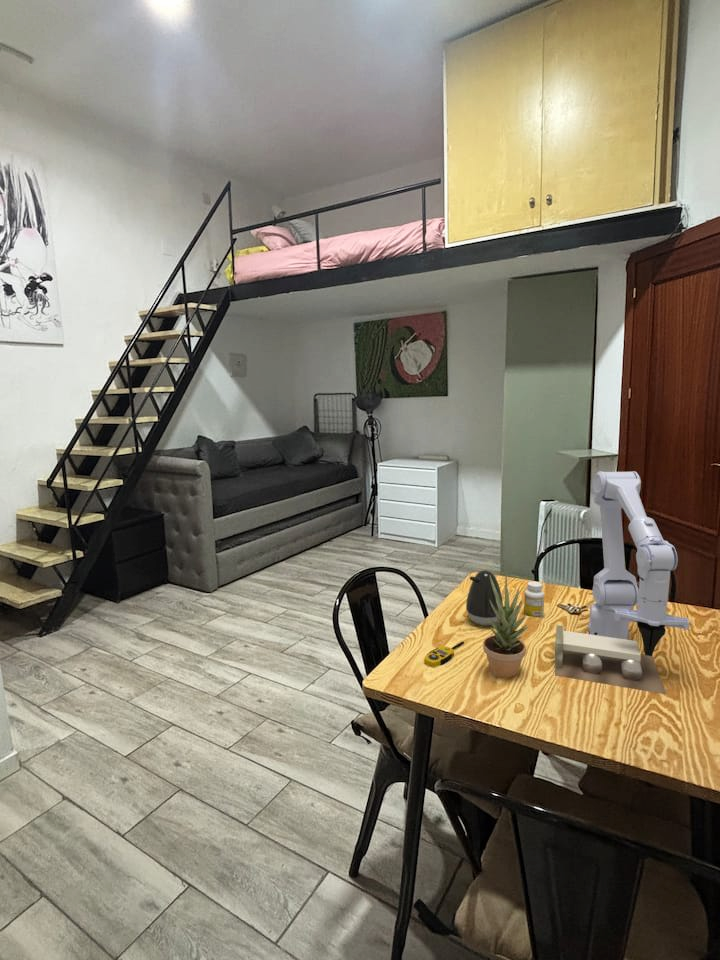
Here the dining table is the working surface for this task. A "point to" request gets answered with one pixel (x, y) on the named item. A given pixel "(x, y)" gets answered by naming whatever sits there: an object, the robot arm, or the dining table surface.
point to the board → (605, 669)
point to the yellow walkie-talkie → (440, 656)
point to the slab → (601, 645)
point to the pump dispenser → (482, 598)
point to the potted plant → (505, 637)
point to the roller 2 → (631, 669)
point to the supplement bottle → (534, 600)
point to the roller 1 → (592, 663)
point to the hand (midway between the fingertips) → (647, 653)
